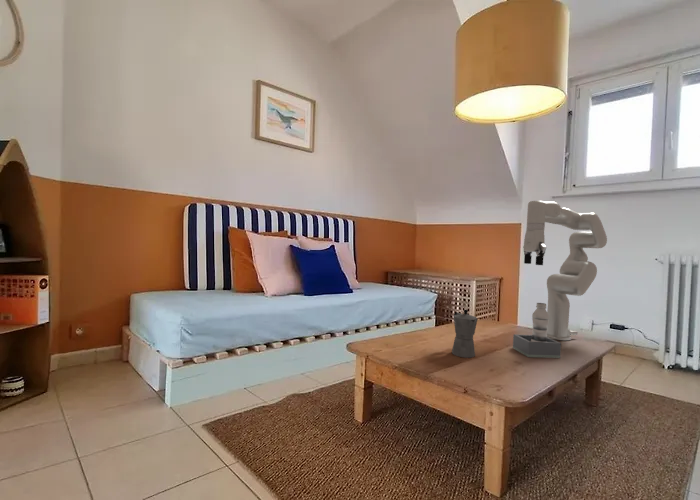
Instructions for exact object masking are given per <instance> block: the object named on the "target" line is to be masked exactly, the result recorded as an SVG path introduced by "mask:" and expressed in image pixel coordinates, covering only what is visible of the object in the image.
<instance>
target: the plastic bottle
mask: <svg viewBox="0 0 700 500" xmlns="http://www.w3.org/2000/svg"><path fill="white" fill-rule="evenodd" d="M535 307H536V309H535V310H534V311H533V312H532V316H531V317H532V318H531V319H532V334H531V335H532V339H531V342H547V326H548V322H549V314H548V313H547V310H546V309H547V303H545V302H536V306H535Z"/></svg>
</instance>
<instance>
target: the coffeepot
mask: <svg viewBox="0 0 700 500" xmlns="http://www.w3.org/2000/svg"><path fill="white" fill-rule="evenodd" d="M468 311H469V310H468V309H465V308H464V309H463V313H462V312H461V313H460V312H458V311H456V312H454V314H453V323H454V324H453V326H454V332H455V337H454V341H453V345H452V350H451V353H452V355H453V356H456V357H460V358H466V359H467V358H468V359H471V358H474V357H475V356H476V350H475V343H474V342H475V341H474V335H475V333H476V328H477V322H478V318H477V316H473V315H471V314H468Z"/></svg>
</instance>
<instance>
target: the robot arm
mask: <svg viewBox="0 0 700 500" xmlns="http://www.w3.org/2000/svg"><path fill="white" fill-rule="evenodd" d="M526 216H527V217H526V230H525V235H524V240H523V253H524V254H523V256H524V257H523V258H524V260H523V264H527V265H529V264H532V254H533V252H534V253H535V254H536V256H535V265H536V266H544V257H545V253H546V249H547V246H546V245H545V228H546V227H545V225H546V223H549V224H552V225H560V226H562V227H564V228H565V227H566V228H568V229H571V230H575V232H573V233H571V234H570V236H569V238H568V244H569V255H568V257H567V258H566V259H565V260H564V262H563V263H562V264H561V266H560V268H559V273H553V274H550V275H549V276H548V277H547V279H546V289H547V308H546V309H547V310H546V311H547V313H548V314H549V322H548V326H547V337H548V338H550V339H553V340H555V341H557V340H558V341H571V340H572V337H571V336H573V335H575V336H576V335H578V333H579V332H578V331H577V330H572V329H569V323H570V321H569V320H570V299H569V297H568V295H569V296H577V297H581V296H583V295H585V294H586V292H587V291H588V289H589V288H590V287H591V285H592V283H594V280H595V279H596V277H597V273H598V268H597V266H596V264H595V263H594V262H592V261H588V260H589V259H588V255H587V252H585V250H584V249H602V248H605V246H607V242H608V238H607V237H608V236H607V234H606V231H605V228H604V225H603V223H602V220H601V218H600V217H599V215H598V214H596V213H595V212H576V211H575V210H572V209H571V208H566V207H561V205H560V204H559V203H558V202H555V201H544V200H531V201H529V202H528V204H527V215H526ZM576 230H577V231H576Z"/></svg>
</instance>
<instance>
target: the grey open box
mask: <svg viewBox="0 0 700 500" xmlns="http://www.w3.org/2000/svg"><path fill="white" fill-rule="evenodd" d="M512 337H513V338H512V349H514V350H515V351H517V352H519V353H520V354H523V355H524V356H526V357H527V358H545V359H546V358H549V359H550V358H551V359H561V350H562V348H561V347H562V343H561V342H559V341H557V340H556V339H550V338H548V337H547V342H531V339H532V334H514V333H513V335H512Z"/></svg>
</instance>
